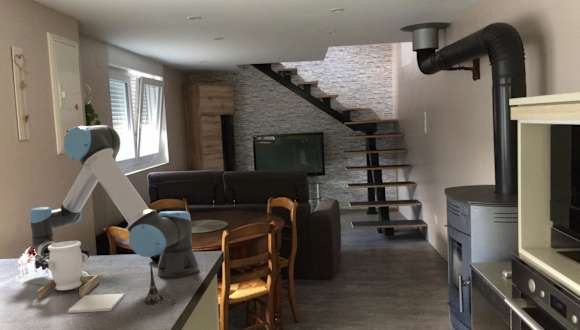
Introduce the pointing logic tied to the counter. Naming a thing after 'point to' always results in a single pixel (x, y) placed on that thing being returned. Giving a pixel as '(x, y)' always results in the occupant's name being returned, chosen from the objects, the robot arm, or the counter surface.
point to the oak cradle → (89, 284)
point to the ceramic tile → (96, 303)
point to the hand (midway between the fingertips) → (70, 263)
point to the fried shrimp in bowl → (155, 258)
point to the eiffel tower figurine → (155, 294)
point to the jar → (66, 264)
